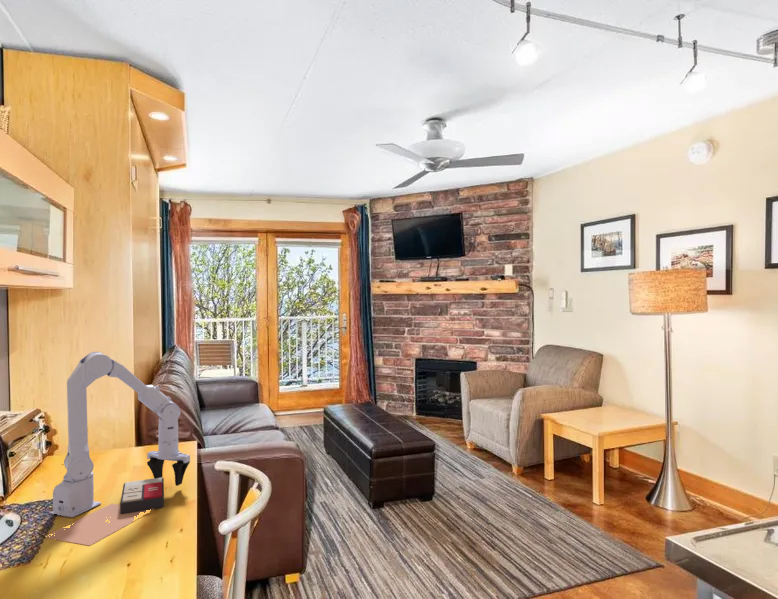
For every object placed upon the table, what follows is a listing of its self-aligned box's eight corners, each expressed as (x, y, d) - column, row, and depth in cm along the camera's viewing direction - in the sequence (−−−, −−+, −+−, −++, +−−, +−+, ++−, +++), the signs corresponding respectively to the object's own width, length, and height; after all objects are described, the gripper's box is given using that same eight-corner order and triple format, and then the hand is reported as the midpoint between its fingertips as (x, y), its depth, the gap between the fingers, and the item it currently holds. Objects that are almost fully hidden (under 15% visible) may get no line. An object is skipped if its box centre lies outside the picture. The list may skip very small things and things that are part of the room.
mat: (89, 547, 120) (89, 545, 120) (42, 539, 125) (42, 537, 125) (154, 511, 140) (154, 509, 140) (111, 505, 145) (111, 503, 145)
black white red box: (120, 501, 137) (123, 480, 151) (120, 516, 137) (123, 494, 151) (164, 494, 142) (163, 475, 155) (164, 509, 142) (163, 488, 156)
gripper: (196, 438, 158) (196, 481, 158) (158, 434, 162) (158, 476, 162) (181, 444, 151) (181, 489, 152) (142, 440, 156) (142, 484, 156)
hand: (168, 483), depth 157 cm, fingers open, 7 cm apart
